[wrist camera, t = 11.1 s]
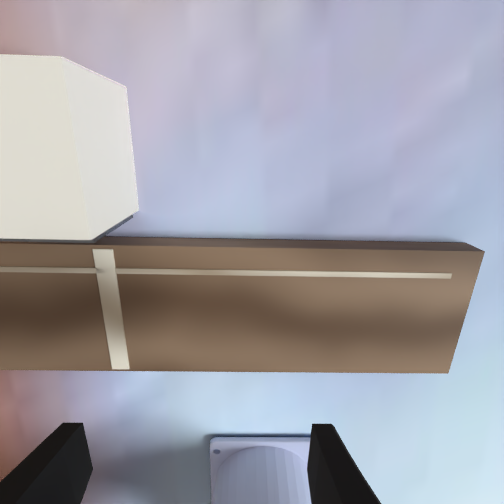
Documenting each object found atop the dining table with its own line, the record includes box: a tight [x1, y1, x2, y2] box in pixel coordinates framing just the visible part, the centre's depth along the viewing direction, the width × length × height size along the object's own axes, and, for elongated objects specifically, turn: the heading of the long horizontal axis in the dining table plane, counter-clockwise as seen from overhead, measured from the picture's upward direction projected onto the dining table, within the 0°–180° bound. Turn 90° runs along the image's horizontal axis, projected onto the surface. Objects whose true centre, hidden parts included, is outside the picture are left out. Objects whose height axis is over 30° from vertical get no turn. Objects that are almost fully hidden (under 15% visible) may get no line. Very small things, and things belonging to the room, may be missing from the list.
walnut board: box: [0, 236, 485, 373], centre depth 18 cm, size 8×30×2 cm, turn 89°
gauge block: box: [0, 54, 139, 243], centre depth 13 cm, size 6×5×6 cm
